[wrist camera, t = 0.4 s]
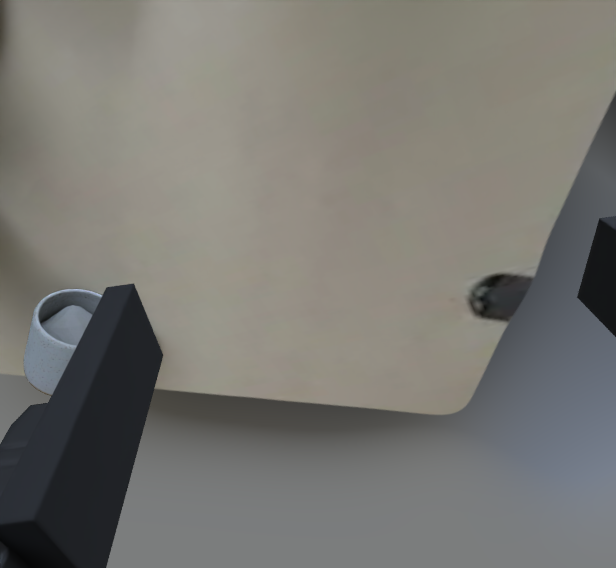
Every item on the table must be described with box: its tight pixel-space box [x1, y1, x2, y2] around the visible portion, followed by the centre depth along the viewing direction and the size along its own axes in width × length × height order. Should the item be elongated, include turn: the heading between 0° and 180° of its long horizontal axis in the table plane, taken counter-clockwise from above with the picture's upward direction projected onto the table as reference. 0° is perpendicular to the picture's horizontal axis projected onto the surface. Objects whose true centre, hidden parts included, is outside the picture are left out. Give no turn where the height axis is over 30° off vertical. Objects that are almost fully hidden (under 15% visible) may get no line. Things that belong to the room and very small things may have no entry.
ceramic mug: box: [24, 289, 102, 396], centre depth 43 cm, size 11×8×8 cm
